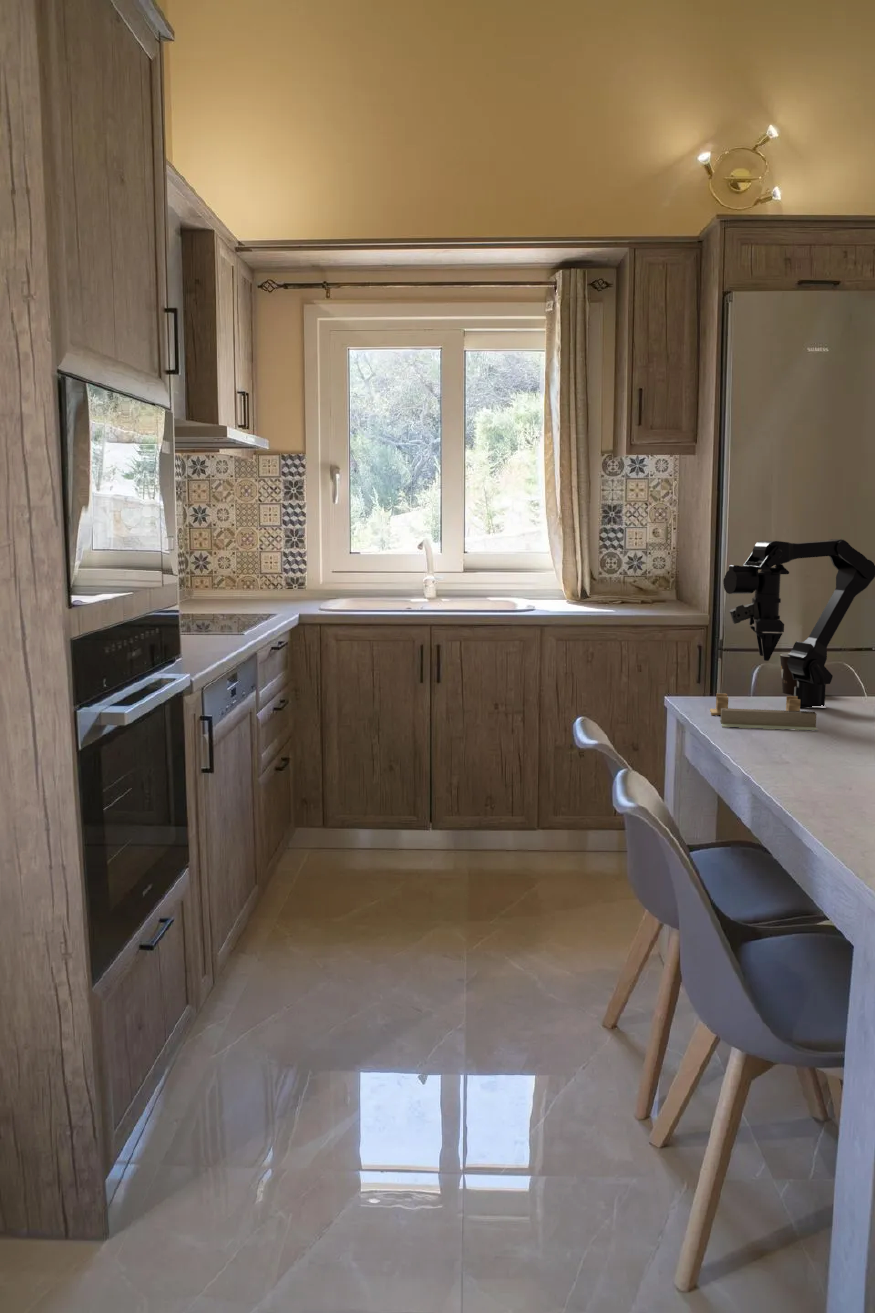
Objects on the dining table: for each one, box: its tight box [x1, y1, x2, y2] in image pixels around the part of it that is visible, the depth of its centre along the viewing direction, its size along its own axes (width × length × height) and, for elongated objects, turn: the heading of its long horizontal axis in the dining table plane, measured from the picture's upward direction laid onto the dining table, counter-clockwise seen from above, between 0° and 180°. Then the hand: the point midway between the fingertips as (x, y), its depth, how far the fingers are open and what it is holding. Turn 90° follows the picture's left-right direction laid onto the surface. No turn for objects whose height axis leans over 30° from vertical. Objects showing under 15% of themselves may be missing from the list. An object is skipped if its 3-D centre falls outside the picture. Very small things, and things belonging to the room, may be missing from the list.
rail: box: [719, 707, 817, 728], centre depth 223 cm, size 20×3×3 cm, turn 78°
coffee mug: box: [779, 652, 797, 696], centre depth 268 cm, size 12×9×10 cm
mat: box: [719, 720, 819, 731], centre depth 223 cm, size 20×7×1 cm, turn 78°
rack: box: [709, 692, 801, 716], centre depth 236 cm, size 21×6×4 cm, turn 78°
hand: (764, 658), depth 242 cm, fingers open, 9 cm apart
